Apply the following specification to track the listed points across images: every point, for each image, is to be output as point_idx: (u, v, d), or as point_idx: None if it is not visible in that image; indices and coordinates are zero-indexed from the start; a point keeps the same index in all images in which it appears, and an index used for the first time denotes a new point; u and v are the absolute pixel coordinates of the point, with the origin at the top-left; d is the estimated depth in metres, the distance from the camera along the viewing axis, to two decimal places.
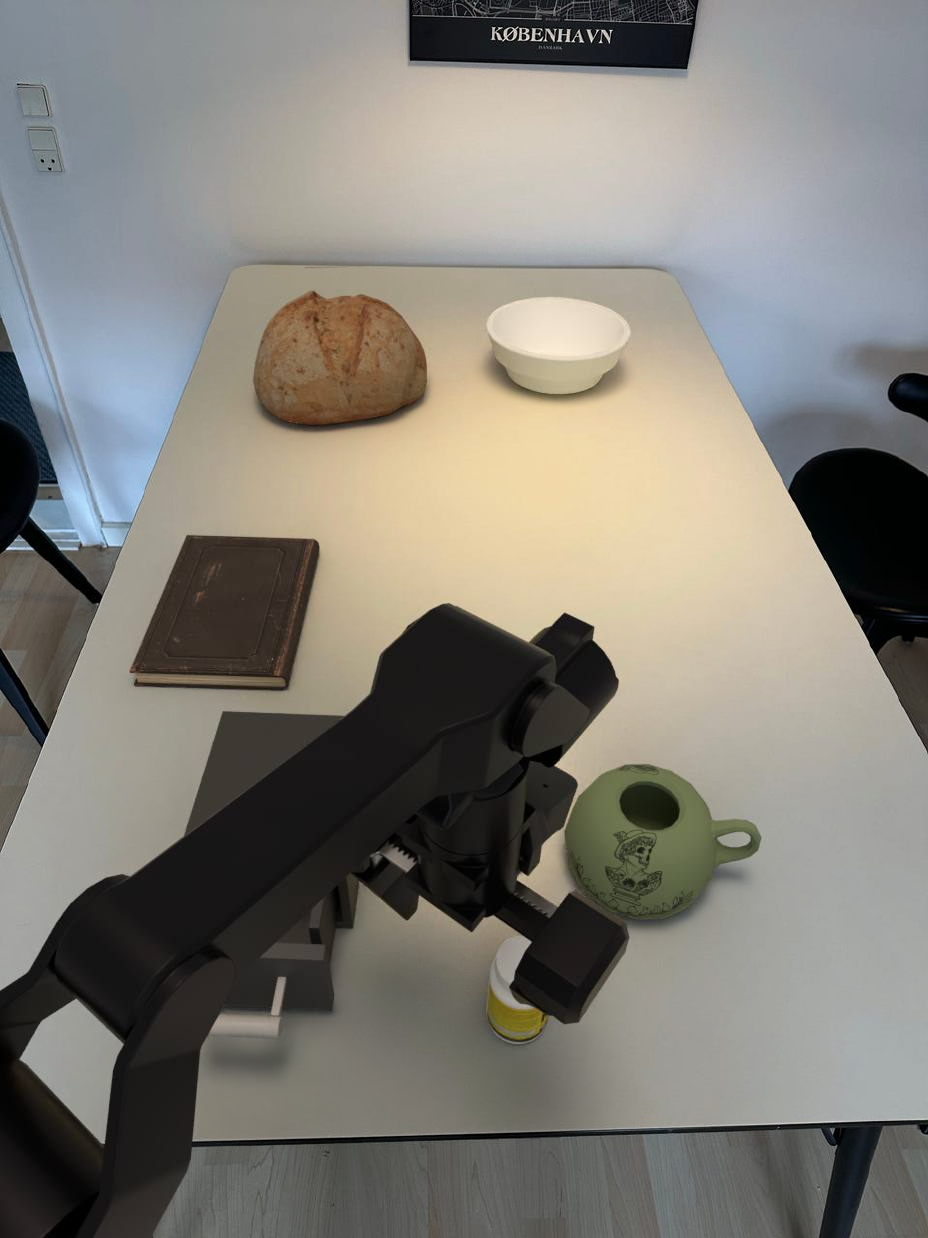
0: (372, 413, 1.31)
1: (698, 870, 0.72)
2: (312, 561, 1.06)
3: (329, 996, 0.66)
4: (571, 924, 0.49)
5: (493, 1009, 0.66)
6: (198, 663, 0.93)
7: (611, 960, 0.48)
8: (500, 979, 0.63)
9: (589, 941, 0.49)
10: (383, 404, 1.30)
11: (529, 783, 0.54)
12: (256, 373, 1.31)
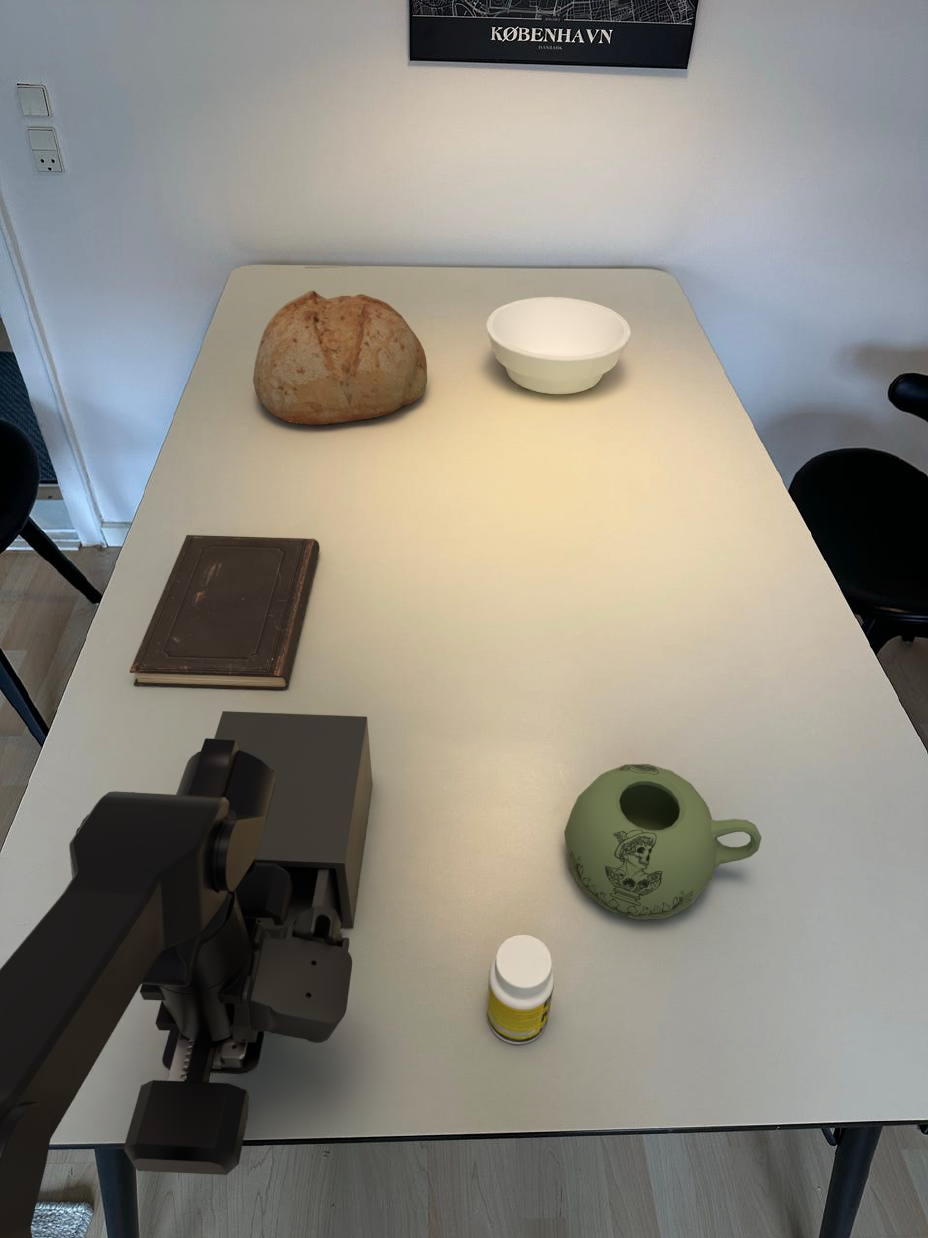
0: (372, 413, 1.31)
1: (698, 870, 0.72)
2: (312, 561, 1.06)
3: None
4: (196, 1103, 0.51)
5: (493, 1009, 0.66)
6: (198, 663, 0.93)
7: (182, 1160, 0.49)
8: (500, 979, 0.63)
9: (186, 1128, 0.50)
10: (383, 404, 1.30)
11: (300, 980, 0.54)
12: (256, 373, 1.31)
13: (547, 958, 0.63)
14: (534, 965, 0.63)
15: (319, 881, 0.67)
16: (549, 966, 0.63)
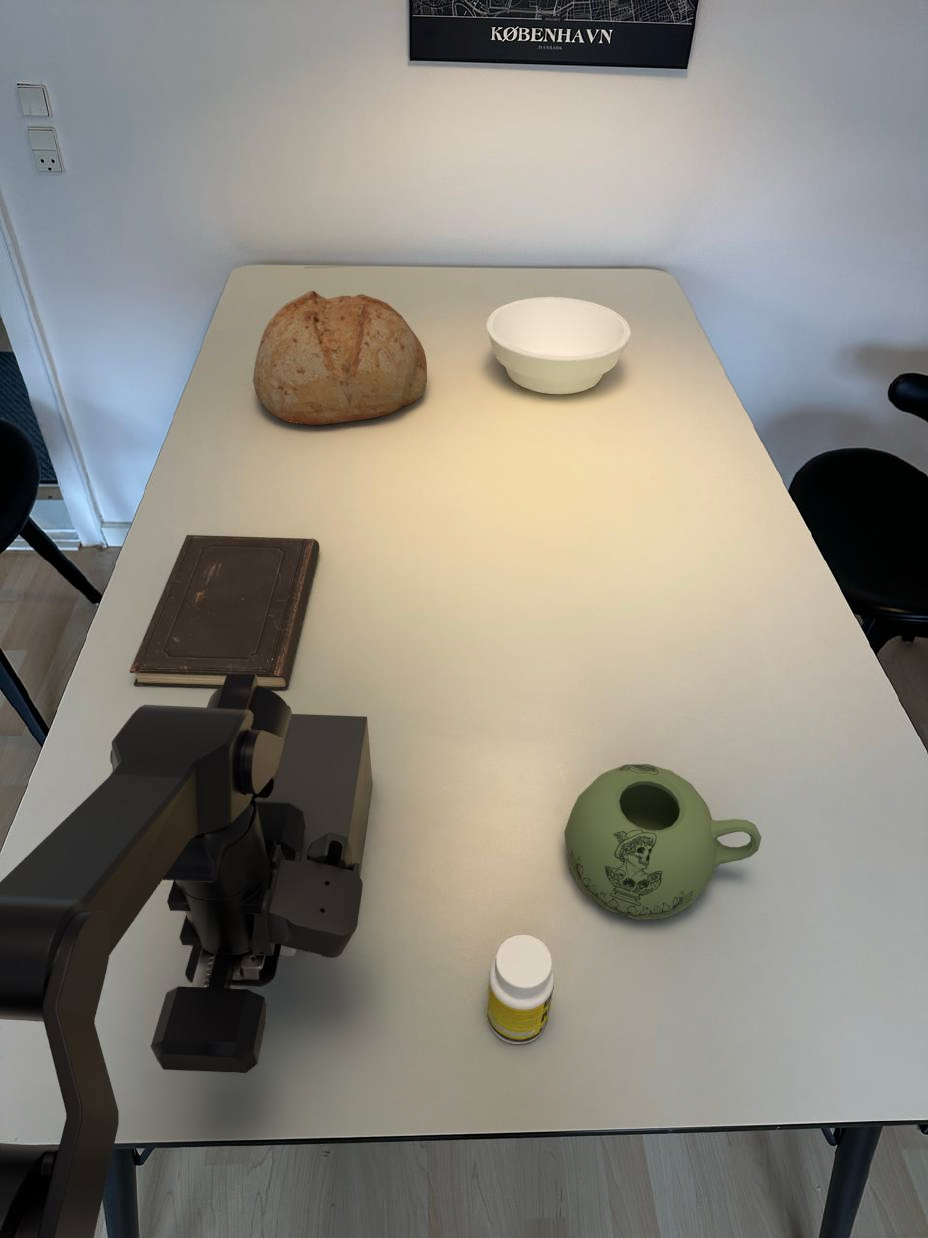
0: (372, 413, 1.31)
1: (698, 870, 0.72)
2: (312, 561, 1.06)
3: None
4: (218, 1006, 0.55)
5: (493, 1009, 0.66)
6: (198, 663, 0.93)
7: (206, 1055, 0.53)
8: (500, 979, 0.63)
9: (209, 1027, 0.54)
10: (383, 404, 1.30)
11: (315, 897, 0.58)
12: (256, 373, 1.31)
13: (547, 958, 0.63)
14: (534, 965, 0.63)
15: None
16: (549, 966, 0.63)
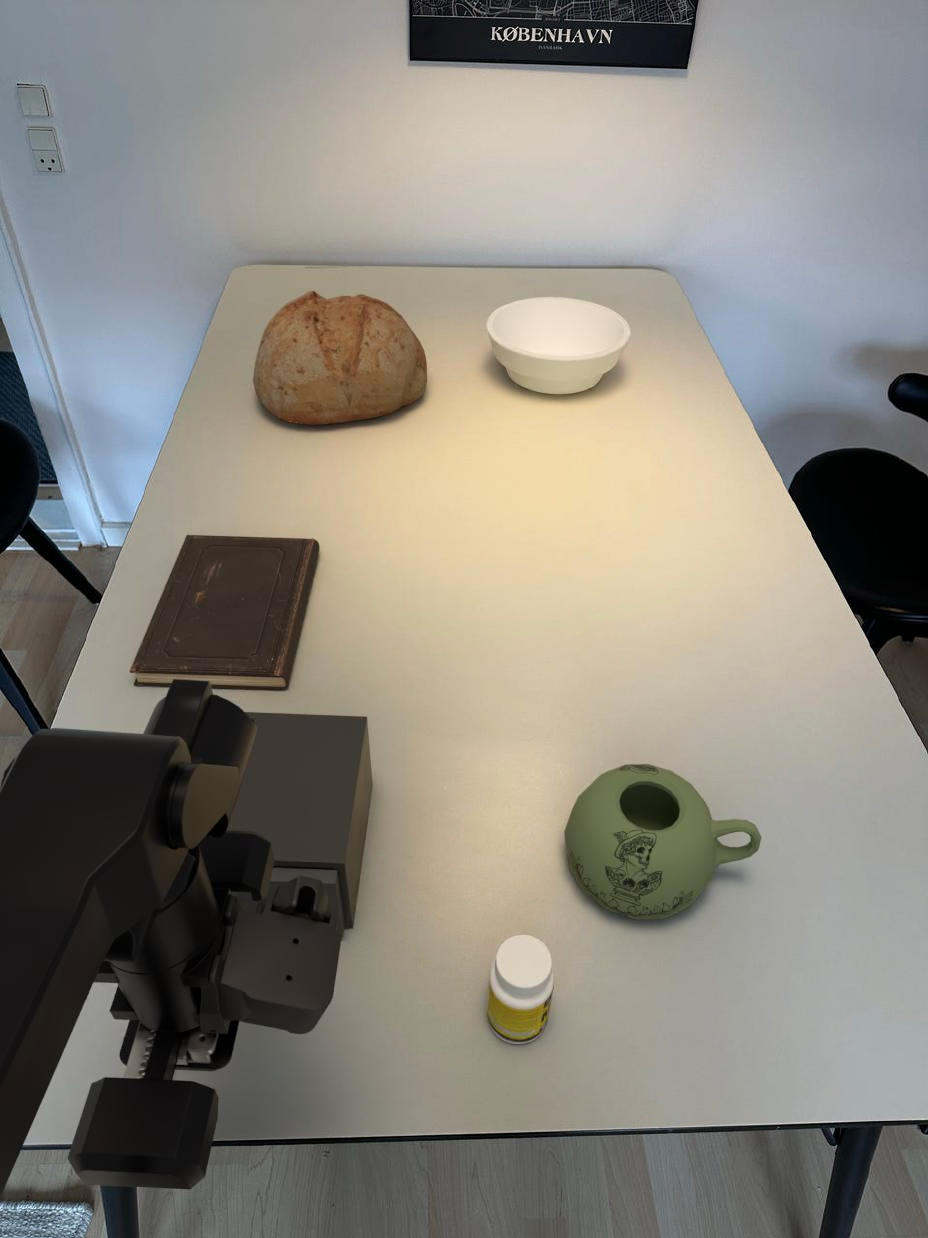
0: (372, 413, 1.31)
1: (698, 870, 0.72)
2: (312, 561, 1.06)
3: (340, 921, 0.71)
4: (155, 1104, 0.43)
5: (493, 1009, 0.66)
6: (198, 663, 0.93)
7: (137, 1172, 0.42)
8: (500, 979, 0.63)
9: (141, 1134, 0.42)
10: (383, 404, 1.30)
11: (280, 961, 0.46)
12: (256, 373, 1.31)
13: (547, 958, 0.63)
14: (534, 965, 0.63)
15: None
16: (549, 966, 0.63)
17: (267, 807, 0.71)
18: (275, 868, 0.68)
